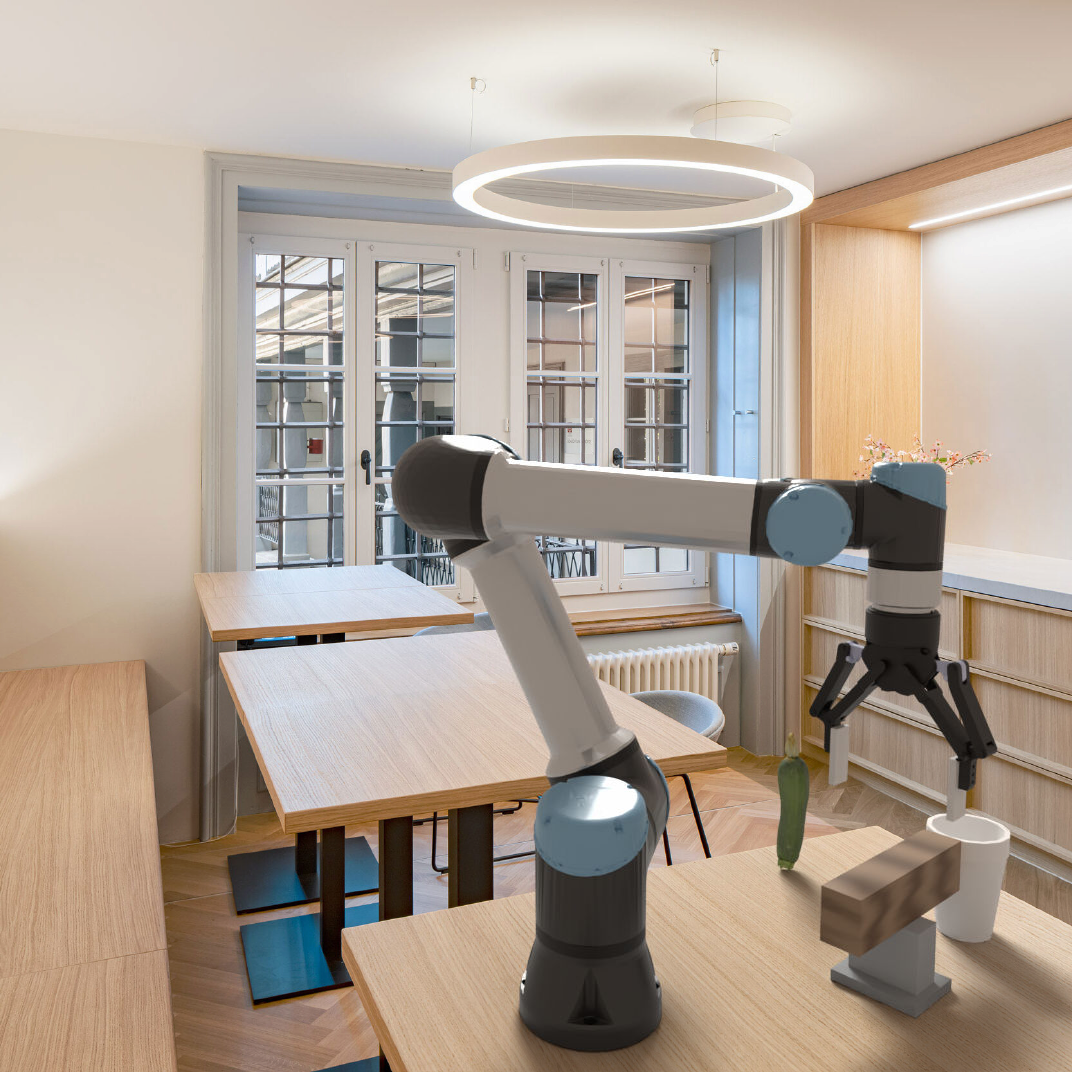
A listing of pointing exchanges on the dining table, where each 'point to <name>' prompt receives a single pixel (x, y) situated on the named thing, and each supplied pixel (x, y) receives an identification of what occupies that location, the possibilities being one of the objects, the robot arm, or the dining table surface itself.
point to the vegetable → (792, 804)
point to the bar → (889, 891)
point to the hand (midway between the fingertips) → (893, 799)
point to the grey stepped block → (898, 970)
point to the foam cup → (973, 876)
